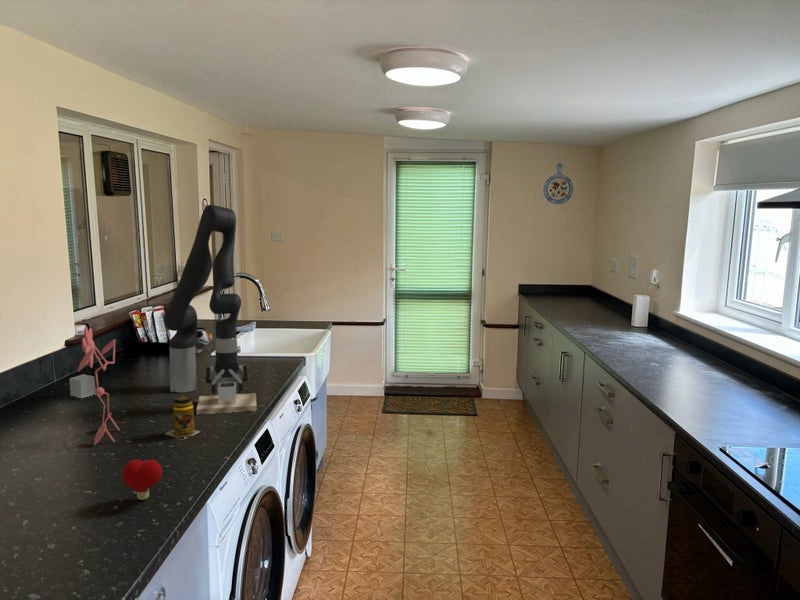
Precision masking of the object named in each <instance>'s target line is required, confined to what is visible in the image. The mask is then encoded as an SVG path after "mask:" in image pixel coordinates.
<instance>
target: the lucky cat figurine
mask: <svg viewBox="0 0 800 600" xmlns="http://www.w3.org/2000/svg"><path fill="white" fill-rule="evenodd" d="M212 339H213V335H212V332H211V331H209V332H207V331H205V330H204V329H200V328H199V329H197V338H196V341H195V353H197V354H200V353H202V351H203V350H204V349H205V348H206V347H207V345H208V344H209V342H211V340H212Z"/></svg>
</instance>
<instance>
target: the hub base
mask: <svg viewBox="0 0 800 600" xmlns="http://www.w3.org/2000/svg"><path fill="white" fill-rule="evenodd" d="M223 387H231V384H224V385H223ZM256 393H257V392H256ZM256 393H255V392H253V393H236V403H229V404H218V394H216V395H214V394H213V395H200V396H199V398H198V402H197V406H196V416H199V414H200V416H201V414H202V415H216V413H218V414H230V413H232V412H234V413H248V412H247V411H250V412H257V407H258V405H257V394H256Z"/></svg>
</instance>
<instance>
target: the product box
mask: <svg viewBox="0 0 800 600" xmlns="http://www.w3.org/2000/svg"><path fill="white" fill-rule="evenodd" d="M69 390H70V393H69V394H70V397H71V396H74V397H77V398H76V399H78V398H81V399H80V400H83V399H82V398H85V397H88V398H90V397H89V396H91V397H93V396H92V395H94V394H95V390H96V376H93V375H88V374H80V375H77V376H74V377H73V376H71V377H70V378H69ZM94 396H95V395H94ZM85 399H86V398H85Z"/></svg>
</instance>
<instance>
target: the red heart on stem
mask: <svg viewBox="0 0 800 600" xmlns="http://www.w3.org/2000/svg"><path fill="white" fill-rule="evenodd" d="M162 476H163V468H162V466H161V465H160V463H159V462H158V461H156V460H154V459H148V460H145V461H143V460H140V459H133V460H130V461H128V462H127V463H126V464H125V465H124V466H123V468H122V470H121V478H122V480H123V483H124V484H125V485H126V486H127V487H128V488H130V489H131V490H133V491H135V492H136V497H137V499H138V500H140V501H145V500H147V499H148V498H149V497H150V488H152V487H153V486H156V485H157V484H158V483H159V482H160V481H161V479H162Z"/></svg>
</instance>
